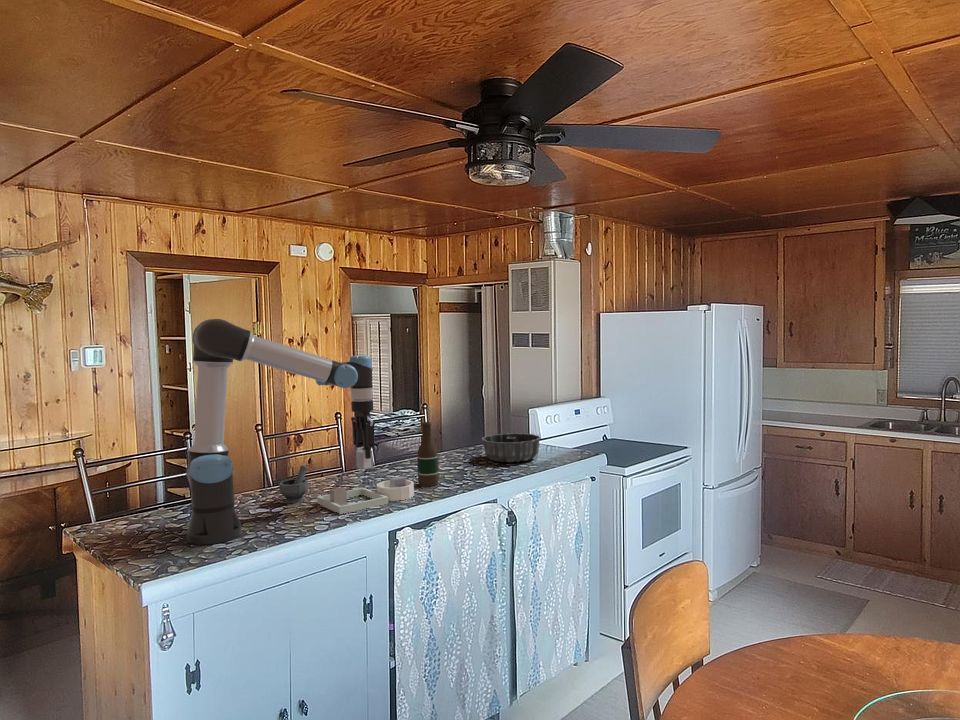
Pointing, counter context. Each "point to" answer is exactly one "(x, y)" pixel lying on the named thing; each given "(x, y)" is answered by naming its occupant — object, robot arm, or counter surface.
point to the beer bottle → (427, 458)
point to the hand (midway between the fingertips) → (364, 466)
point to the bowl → (396, 490)
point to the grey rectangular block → (397, 482)
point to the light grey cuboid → (360, 459)
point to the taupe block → (338, 496)
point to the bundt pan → (511, 447)
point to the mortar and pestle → (295, 487)
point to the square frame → (376, 501)
